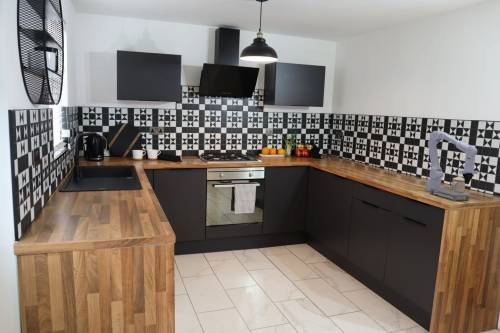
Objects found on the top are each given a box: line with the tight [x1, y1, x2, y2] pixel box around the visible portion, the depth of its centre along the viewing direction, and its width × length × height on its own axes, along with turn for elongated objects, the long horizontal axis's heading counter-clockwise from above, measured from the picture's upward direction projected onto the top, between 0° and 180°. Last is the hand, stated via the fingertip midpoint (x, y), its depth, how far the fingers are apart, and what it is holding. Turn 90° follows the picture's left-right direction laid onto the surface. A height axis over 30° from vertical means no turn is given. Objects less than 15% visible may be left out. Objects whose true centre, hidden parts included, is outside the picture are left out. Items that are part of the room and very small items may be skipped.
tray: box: [436, 192, 466, 201], centre depth 266 cm, size 12×15×2 cm
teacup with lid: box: [450, 175, 466, 193], centre depth 290 cm, size 12×9×12 cm
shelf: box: [429, 187, 471, 203], centre depth 265 cm, size 12×22×4 cm, turn 17°
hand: (466, 184), depth 268 cm, fingers closed
